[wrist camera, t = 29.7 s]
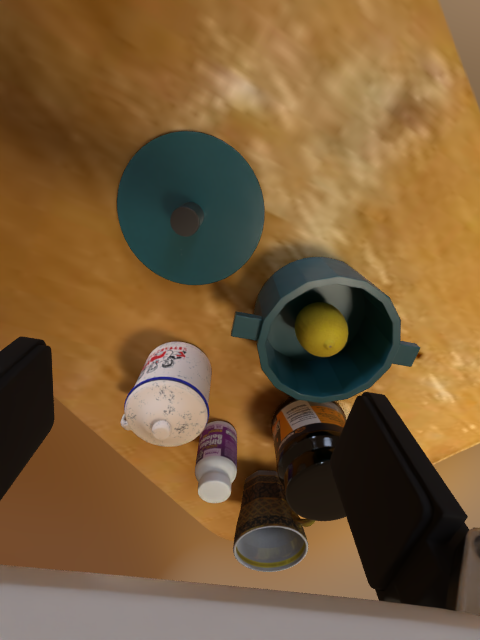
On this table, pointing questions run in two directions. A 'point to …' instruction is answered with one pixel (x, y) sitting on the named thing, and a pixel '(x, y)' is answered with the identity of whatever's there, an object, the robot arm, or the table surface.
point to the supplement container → (308, 456)
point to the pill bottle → (216, 461)
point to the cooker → (361, 317)
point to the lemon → (321, 329)
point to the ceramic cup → (268, 526)
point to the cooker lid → (190, 208)
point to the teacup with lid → (170, 396)
